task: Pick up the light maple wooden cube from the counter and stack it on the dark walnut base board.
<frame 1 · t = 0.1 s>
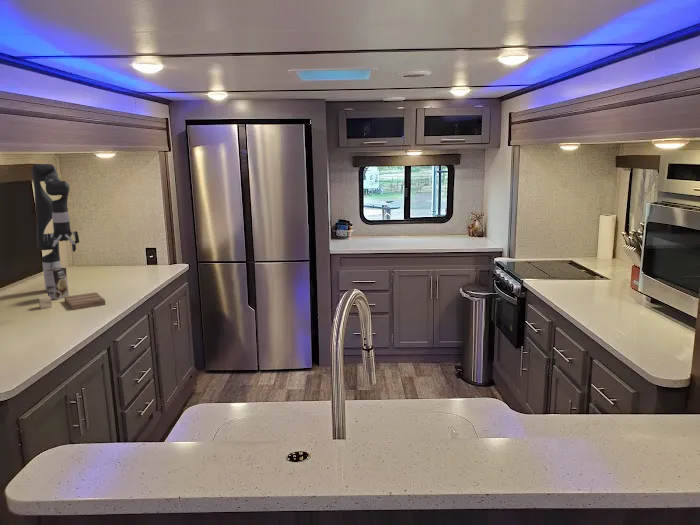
hand: (64, 252, 280), 29 cm above the counter, fingers open, 8 cm apart
walnut base: (84, 302, 294), on the counter
coffee box: (58, 297, 305), on the counter
maple cube: (45, 307, 287), on the counter
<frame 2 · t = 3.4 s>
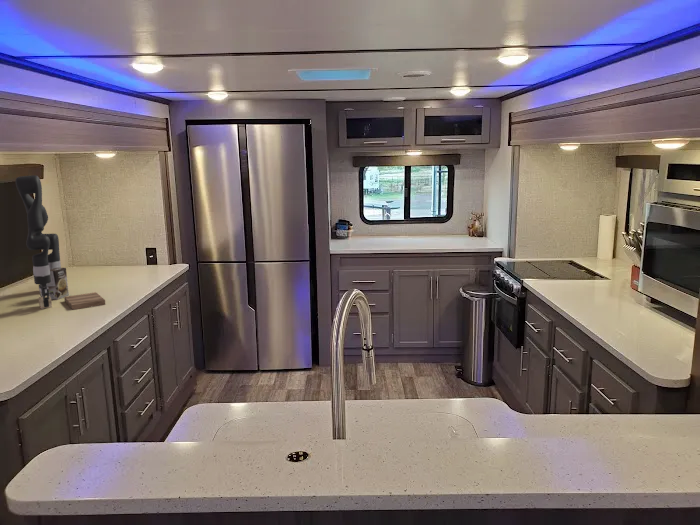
hand: (45, 305, 287), 1 cm above the counter, fingers closed on maple cube, 5 cm apart
maple cube: (45, 306, 287), on the counter, touching gripper
everything else where it was.
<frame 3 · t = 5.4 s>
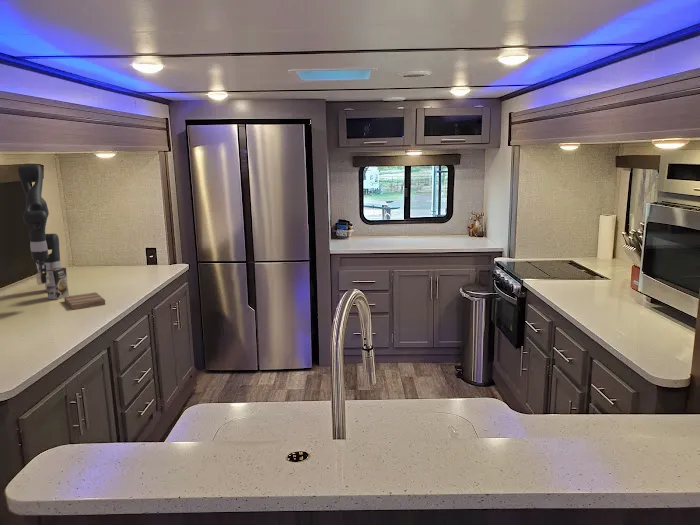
hand: (43, 281, 284), 13 cm above the counter, fingers closed on maple cube, 5 cm apart
maple cube: (43, 283, 284), point 13 cm above the counter, touching gripper
everything else where it was.
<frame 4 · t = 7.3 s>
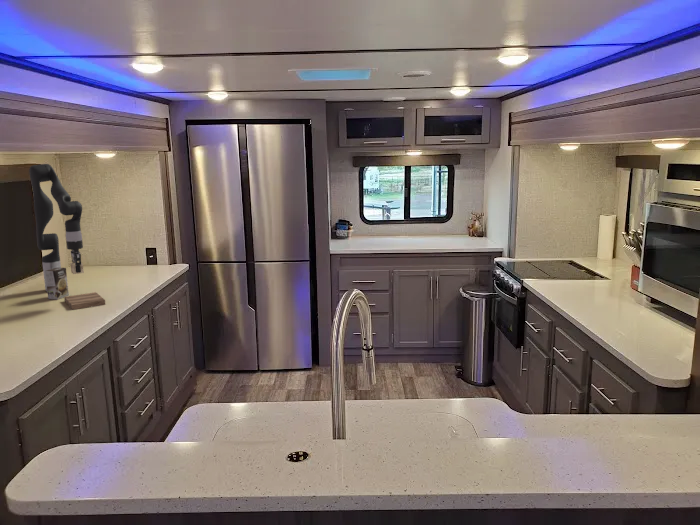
hand: (77, 271, 290), 18 cm above the counter, fingers closed on maple cube, 5 cm apart
maple cube: (77, 272, 290), point 17 cm above the counter, touching gripper
everything else where it was.
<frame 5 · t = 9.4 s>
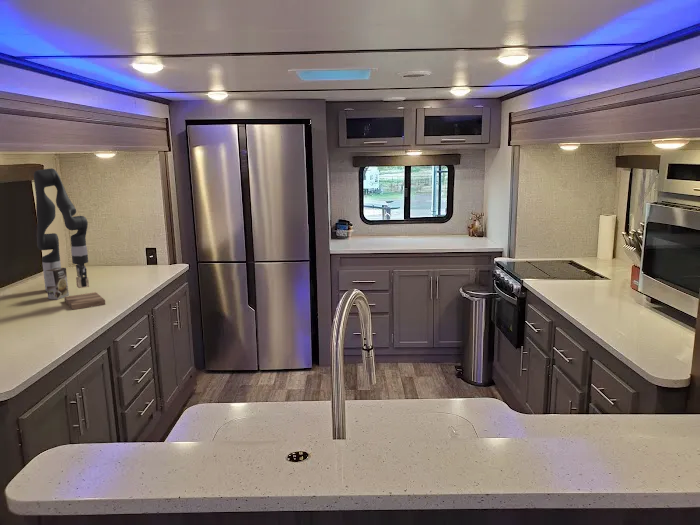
hand: (82, 285, 292), 10 cm above the counter, fingers closed on maple cube, 5 cm apart
maple cube: (83, 286, 292), point 9 cm above the counter, touching gripper
everything else where it was.
when the fingers open (5 cm above the counter, at t = 11.1 s): maple cube drops 1 cm, resting on walnut base.
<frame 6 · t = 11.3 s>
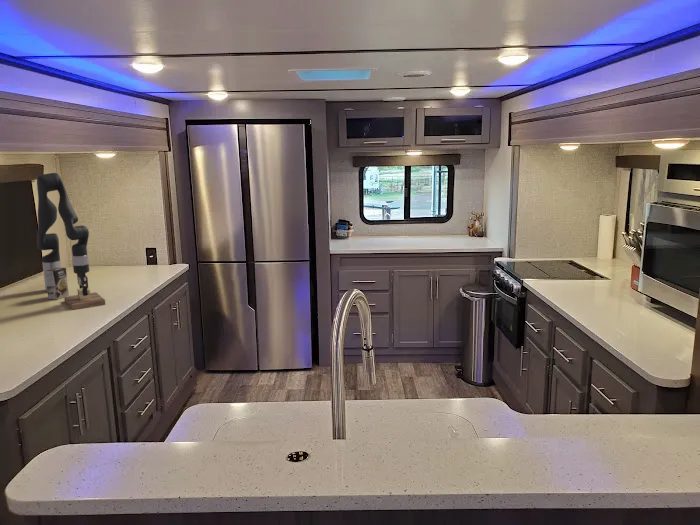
hand: (83, 294, 293), 5 cm above the counter, fingers open, 6 cm apart
maple cube: (84, 298, 294), point 2 cm above the counter, touching walnut base
everything else where it was.
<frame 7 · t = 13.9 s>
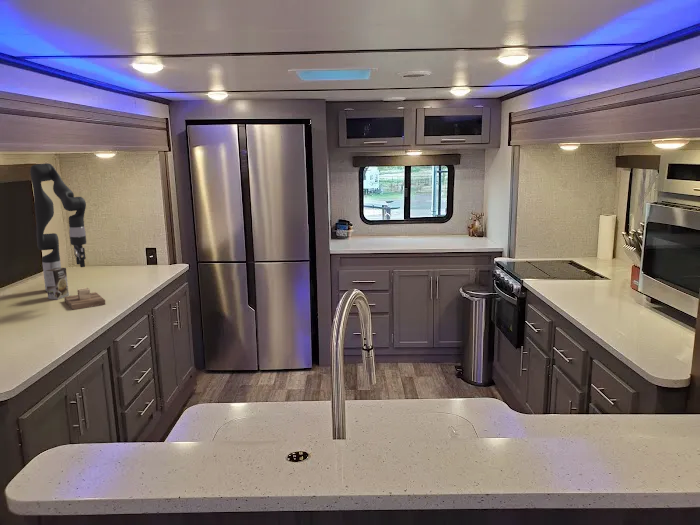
hand: (80, 265, 290), 20 cm above the counter, fingers open, 8 cm apart
nothing on the counter moved.
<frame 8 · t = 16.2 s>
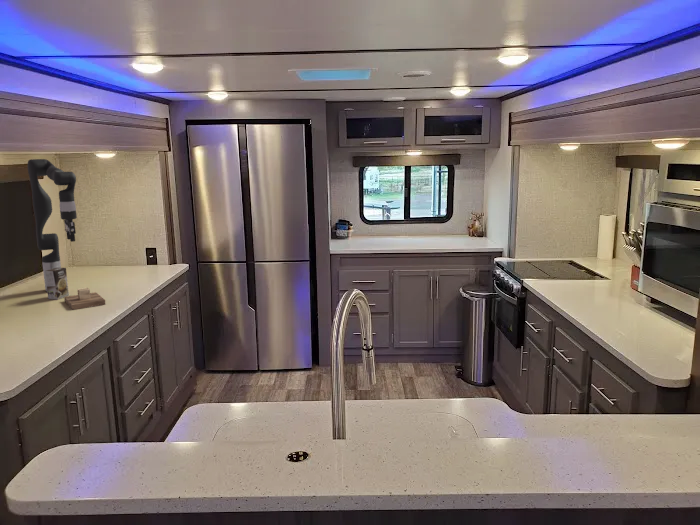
hand: (71, 240, 293), 33 cm above the counter, fingers open, 8 cm apart
nothing on the counter moved.
at the end: maple cube inside the target area on the walnut base (0.1 cm from its centre), point 2.5 cm above the walnut base's base; maple cube tilted 0°; the gripper is holding nothing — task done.
